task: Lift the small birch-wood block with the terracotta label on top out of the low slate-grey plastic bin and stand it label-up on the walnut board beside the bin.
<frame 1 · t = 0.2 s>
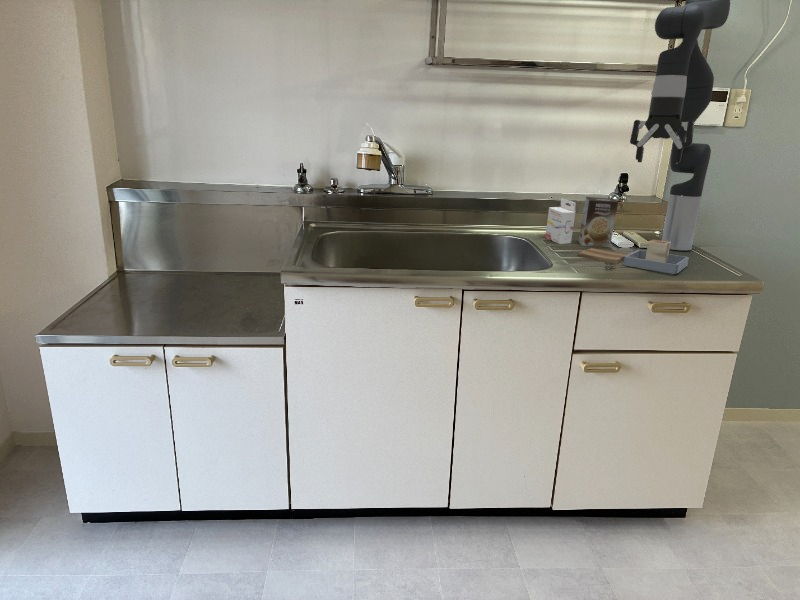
hand: (657, 163, 146), 30 cm above the countertop, tool pointing down, fingers open, 8 cm apart
ink cartridge box: (557, 244, 193), on the countertop
board: (603, 257, 175), on the countertop
block: (657, 253, 167), in the bin
coffee box: (593, 247, 190), on the countertop
bin: (655, 265, 168), on the countertop
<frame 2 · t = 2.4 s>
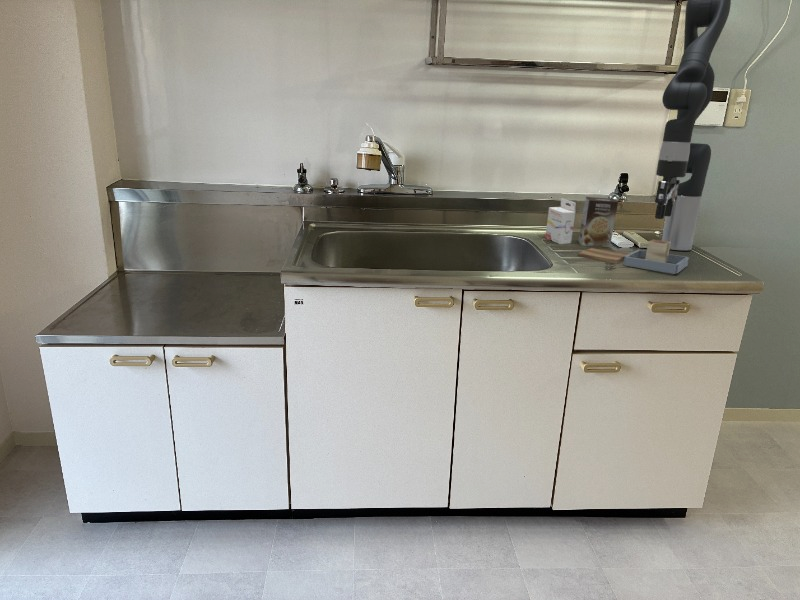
hand: (663, 217, 163), 14 cm above the countertop, tool pointing down, fingers open, 8 cm apart
nothing on the countertop moved.
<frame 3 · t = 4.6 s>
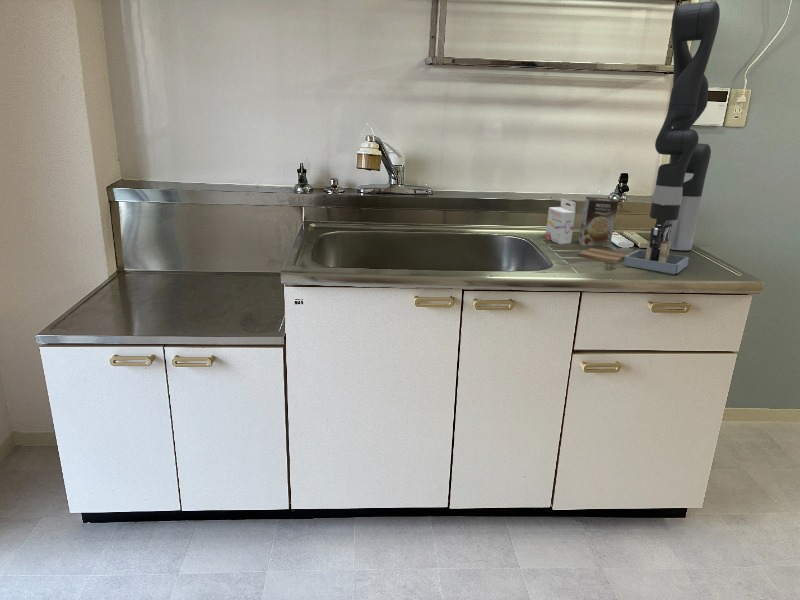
hand: (656, 260, 167), 1 cm above the countertop, tool pointing down, fingers closed on block, 5 cm apart
block: (657, 253, 167), in the bin, touching gripper
everything else where it was.
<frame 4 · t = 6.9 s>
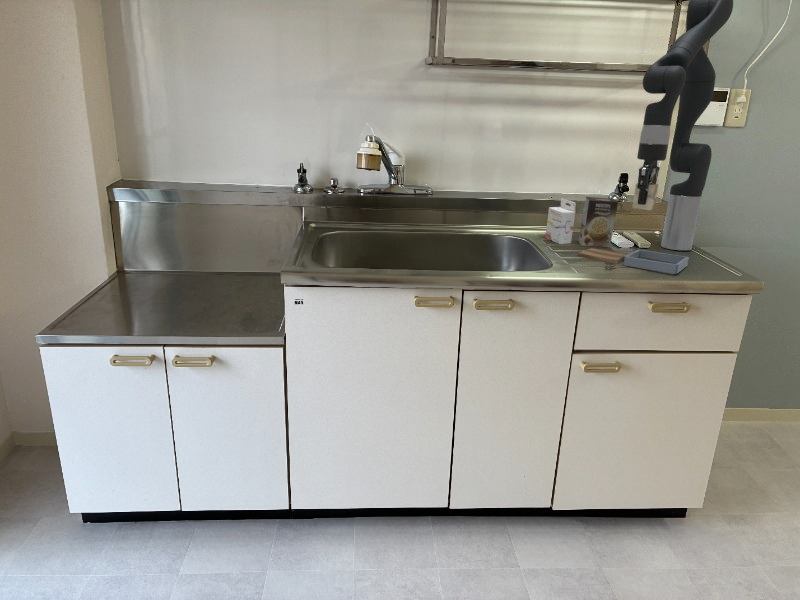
hand: (644, 203, 165), 17 cm above the countertop, tool pointing down, fingers closed on block, 5 cm apart
block: (645, 196, 165), point 20 cm above the countertop, touching gripper
everything else where it was.
when the fingers open (4 cm above the countertop, at t = 9.4 s): block drops 1 cm, resting on board.
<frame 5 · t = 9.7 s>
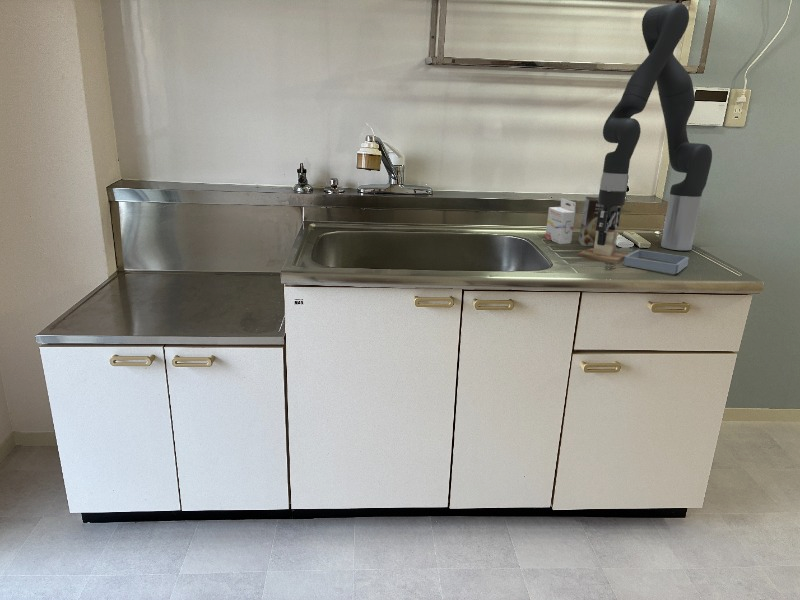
hand: (605, 243, 174), 4 cm above the countertop, tool pointing down, fingers open, 7 cm apart
block: (605, 242, 174), on the board, point 5 cm above the countertop
everything else where it was.
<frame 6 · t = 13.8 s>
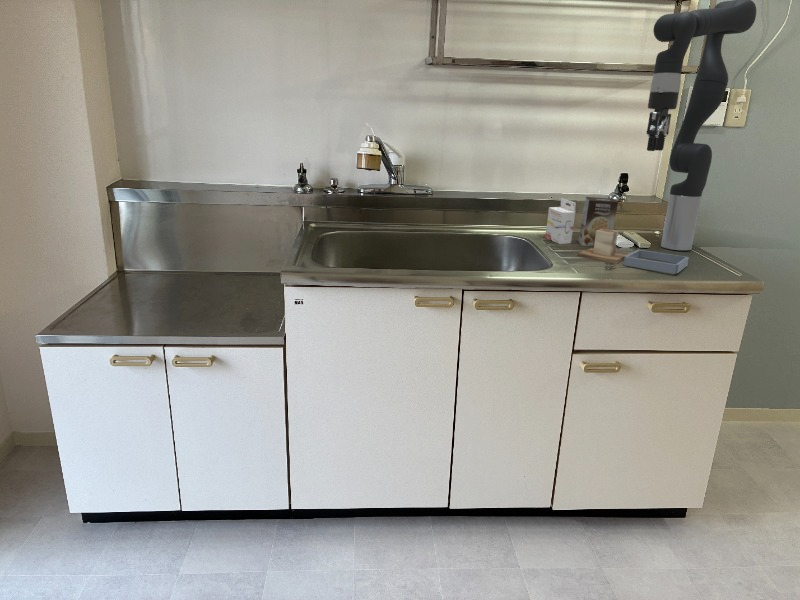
hand: (654, 150, 166), 32 cm above the countertop, tool pointing down, fingers open, 8 cm apart
nothing on the countertop moved.
at the end: block inside the target area on the board (0.1 cm from its centre), point 4.8 cm above the board's base; block tilted 0°; the gripper is holding nothing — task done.
